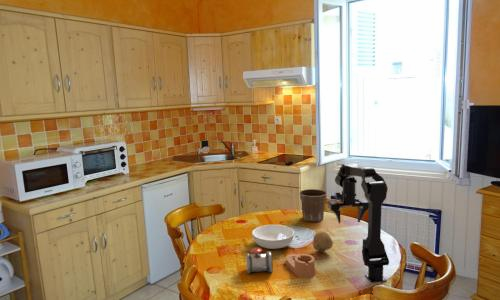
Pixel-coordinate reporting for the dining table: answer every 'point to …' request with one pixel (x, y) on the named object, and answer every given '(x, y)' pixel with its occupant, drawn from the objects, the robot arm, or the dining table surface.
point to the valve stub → (259, 261)
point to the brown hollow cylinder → (301, 265)
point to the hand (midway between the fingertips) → (349, 222)
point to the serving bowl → (272, 236)
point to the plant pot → (313, 204)
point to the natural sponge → (322, 241)
